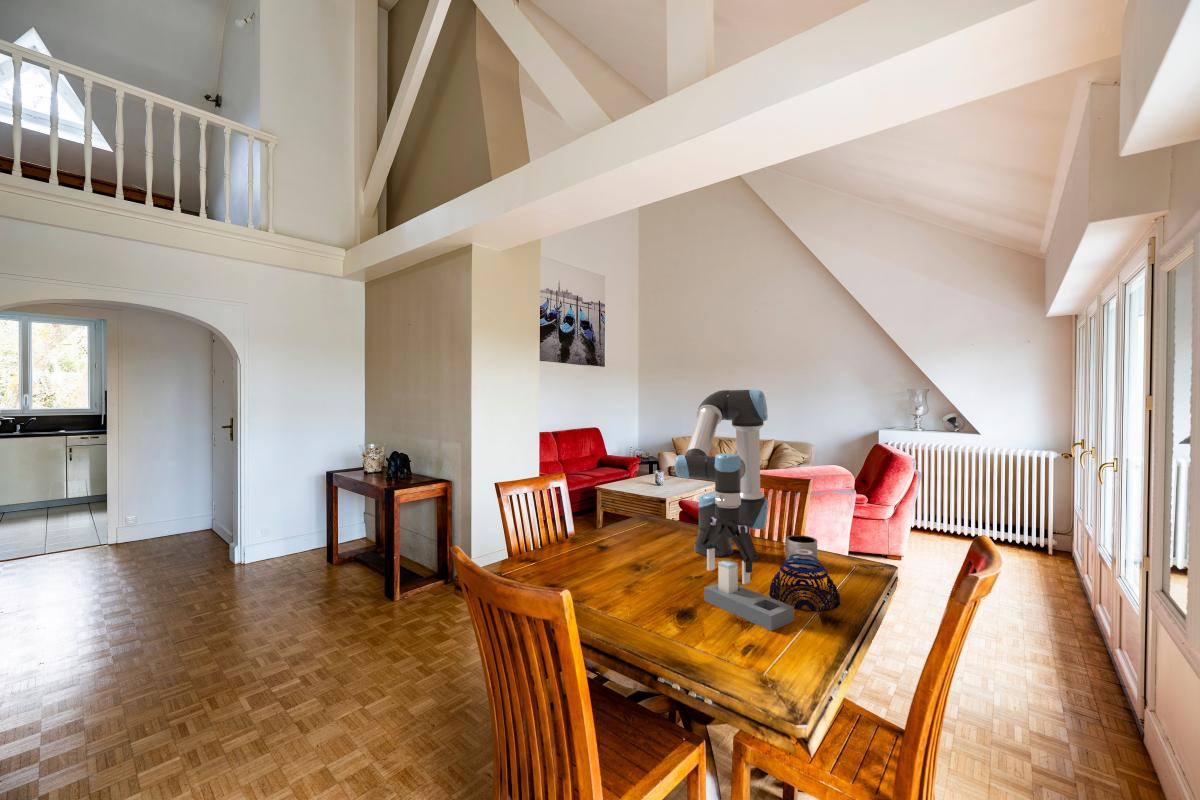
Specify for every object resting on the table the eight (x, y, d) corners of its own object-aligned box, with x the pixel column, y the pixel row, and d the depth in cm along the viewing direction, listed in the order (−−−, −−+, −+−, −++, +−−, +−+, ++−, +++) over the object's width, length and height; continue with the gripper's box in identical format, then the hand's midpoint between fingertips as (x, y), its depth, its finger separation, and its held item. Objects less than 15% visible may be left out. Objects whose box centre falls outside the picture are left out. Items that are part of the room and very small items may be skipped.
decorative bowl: (768, 606, 147) (768, 558, 147) (769, 582, 166) (769, 539, 166) (843, 616, 140) (843, 565, 140) (835, 590, 159) (835, 545, 159)
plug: (727, 598, 152) (727, 559, 152) (737, 603, 149) (737, 563, 149) (718, 601, 150) (718, 562, 150) (728, 606, 147) (728, 565, 147)
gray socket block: (726, 593, 157) (726, 580, 157) (794, 621, 137) (794, 606, 137) (704, 600, 151) (704, 587, 151) (771, 631, 131) (771, 616, 131)
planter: (785, 567, 180) (785, 541, 180) (786, 558, 190) (786, 533, 190) (818, 571, 176) (818, 544, 176) (817, 562, 186) (817, 536, 186)
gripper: (689, 500, 158) (689, 566, 158) (753, 515, 137) (753, 591, 137) (705, 497, 162) (705, 562, 162) (770, 511, 141) (770, 586, 141)
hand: (727, 576), depth 150 cm, fingers open, 13 cm apart
